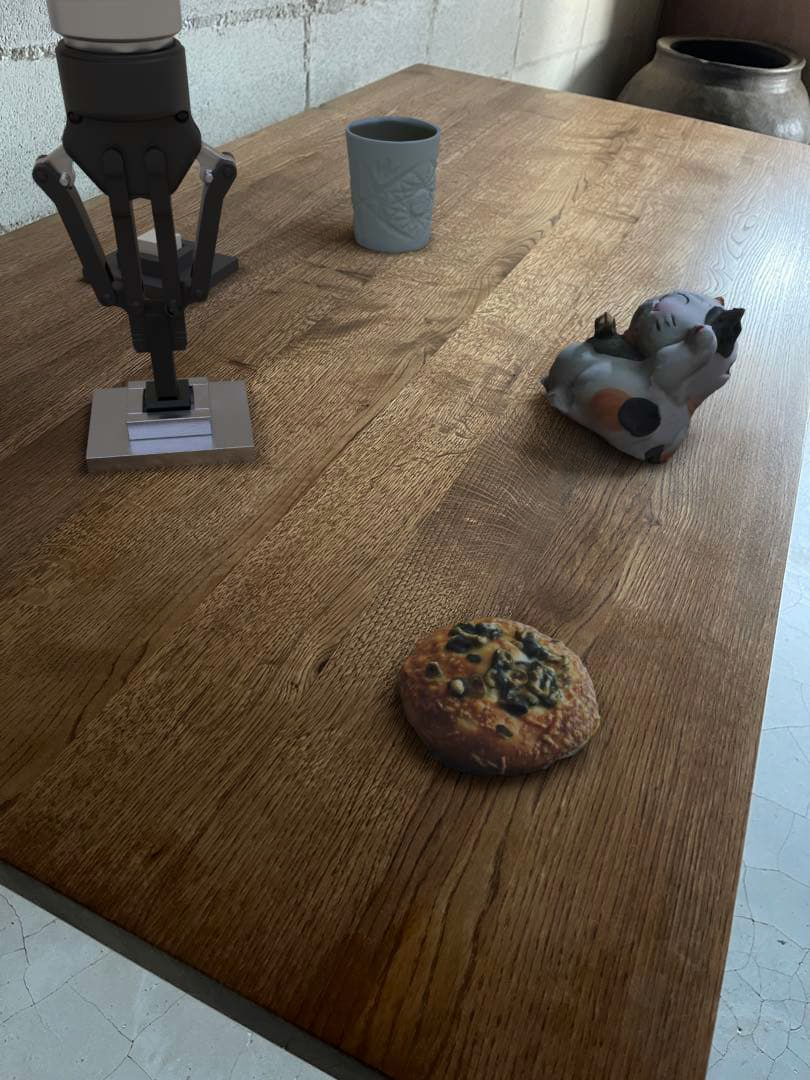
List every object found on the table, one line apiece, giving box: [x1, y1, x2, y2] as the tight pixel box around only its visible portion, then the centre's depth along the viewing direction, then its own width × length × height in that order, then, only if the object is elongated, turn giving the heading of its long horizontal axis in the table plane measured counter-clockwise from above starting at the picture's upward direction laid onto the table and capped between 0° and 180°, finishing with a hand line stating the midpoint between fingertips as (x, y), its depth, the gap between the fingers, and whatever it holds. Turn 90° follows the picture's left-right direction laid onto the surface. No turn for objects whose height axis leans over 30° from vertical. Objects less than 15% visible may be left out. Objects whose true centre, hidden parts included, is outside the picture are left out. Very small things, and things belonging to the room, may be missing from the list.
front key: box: [145, 379, 191, 413], centre depth 70 cm, size 3×3×2 cm
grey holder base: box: [85, 376, 256, 474], centre depth 71 cm, size 12×10×3 cm
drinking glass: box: [344, 115, 442, 254], centre depth 101 cm, size 10×10×12 cm
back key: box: [137, 227, 182, 256], centre depth 92 cm, size 3×3×2 cm
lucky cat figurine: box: [539, 288, 746, 464], centre depth 72 cm, size 15×12×14 cm
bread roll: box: [398, 617, 602, 778], centre depth 50 cm, size 11×11×5 cm
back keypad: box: [81, 238, 240, 299], centre depth 93 cm, size 12×10×3 cm
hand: (166, 387), depth 69 cm, fingers closed
